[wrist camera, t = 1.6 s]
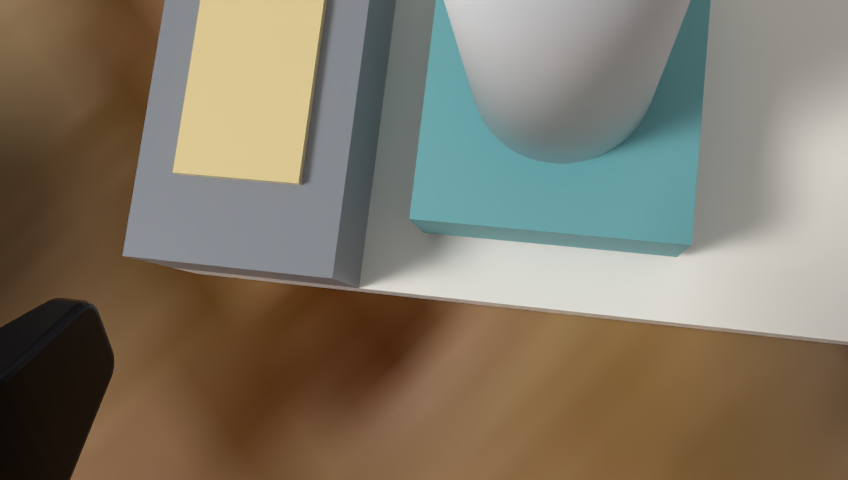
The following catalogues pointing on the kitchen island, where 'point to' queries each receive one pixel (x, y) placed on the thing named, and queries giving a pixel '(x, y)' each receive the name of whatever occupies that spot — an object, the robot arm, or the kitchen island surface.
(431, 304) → the kitchen island surface
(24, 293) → the kitchen island surface
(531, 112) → the carriage
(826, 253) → the rail
